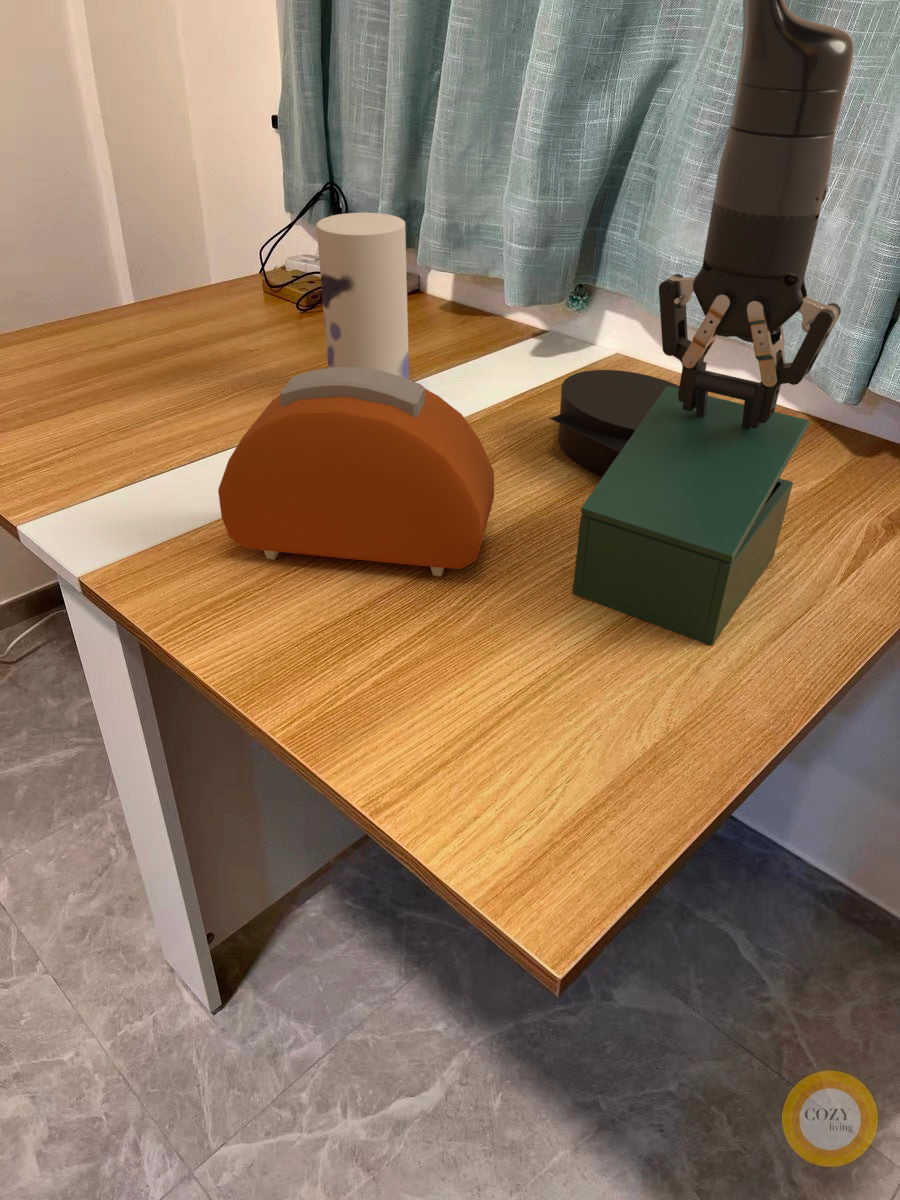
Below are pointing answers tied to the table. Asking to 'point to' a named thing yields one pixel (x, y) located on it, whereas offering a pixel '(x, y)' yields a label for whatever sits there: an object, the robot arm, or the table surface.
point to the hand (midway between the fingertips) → (723, 415)
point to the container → (365, 291)
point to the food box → (675, 572)
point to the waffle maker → (603, 414)
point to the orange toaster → (360, 474)
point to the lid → (697, 469)
